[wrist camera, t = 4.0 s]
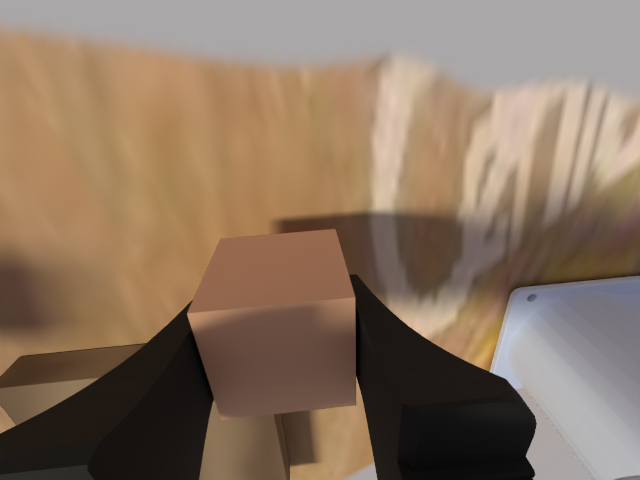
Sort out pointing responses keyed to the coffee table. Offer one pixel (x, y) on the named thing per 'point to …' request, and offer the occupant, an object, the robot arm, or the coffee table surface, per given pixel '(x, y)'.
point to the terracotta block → (277, 324)
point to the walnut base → (89, 365)
